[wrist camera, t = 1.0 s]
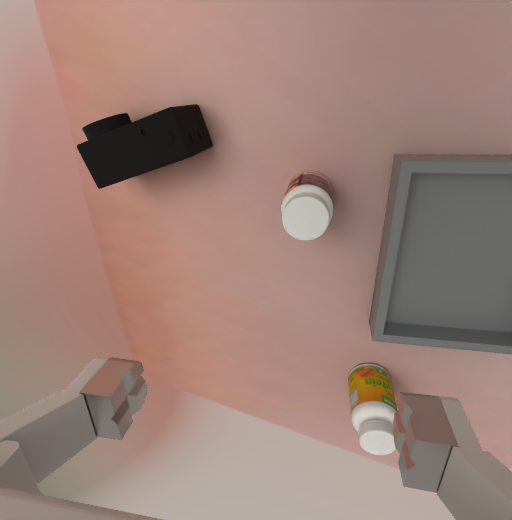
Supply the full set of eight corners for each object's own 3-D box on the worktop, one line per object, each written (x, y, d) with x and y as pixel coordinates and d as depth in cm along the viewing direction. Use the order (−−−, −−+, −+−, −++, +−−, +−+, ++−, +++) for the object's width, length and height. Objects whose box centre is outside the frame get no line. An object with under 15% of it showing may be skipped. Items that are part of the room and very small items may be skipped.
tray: (394, 154, 33) (401, 161, 30) (584, 155, 30) (613, 162, 27) (369, 322, 42) (372, 340, 39) (514, 335, 39) (530, 355, 36)
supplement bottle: (396, 369, 44) (413, 436, 36) (380, 396, 47) (392, 465, 38) (356, 357, 44) (363, 420, 36) (342, 384, 47) (346, 450, 38)
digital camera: (194, 90, 34) (165, 91, 28) (214, 145, 36) (191, 156, 30) (111, 125, 37) (68, 132, 31) (133, 173, 39) (97, 189, 33)
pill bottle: (292, 165, 35) (283, 185, 28) (338, 176, 35) (341, 199, 27) (282, 208, 37) (272, 237, 30) (325, 218, 37) (325, 250, 30)
